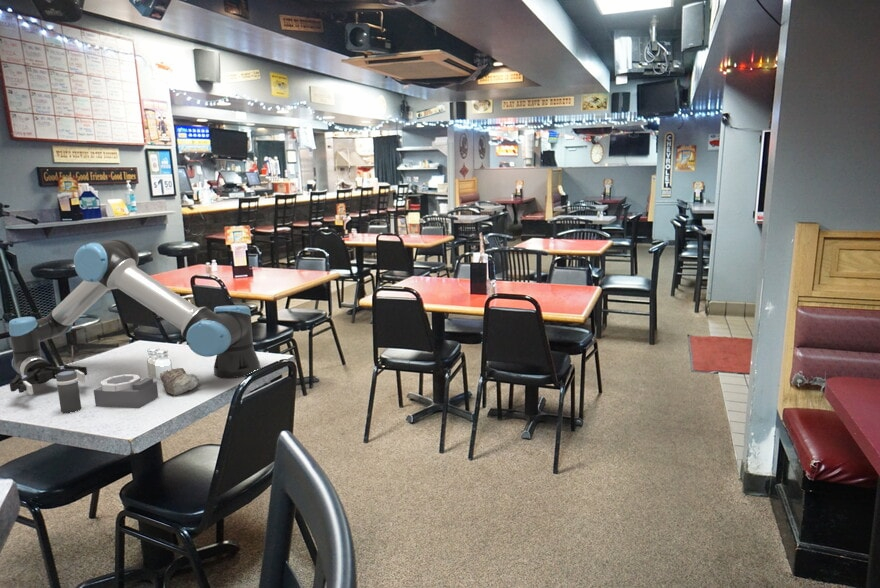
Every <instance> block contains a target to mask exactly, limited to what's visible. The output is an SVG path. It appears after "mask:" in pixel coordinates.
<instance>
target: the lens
mask: <svg viewBox="0 0 880 588" xmlns="http://www.w3.org/2000/svg"><path fill="white" fill-rule="evenodd" d="M55 383H56V386H57V393H58V398H59V399H58V400H59V406H60V412H63V413H62V414H64V413H67V414H71V413H70V412H74V413H76V412H75V411H77V412H79V411H81V410H82V409H81V408H82V402H81V395H80V390H79V389H80V386H79V380H78V377H77V372H76V371H64V372H61V373H58V374H57V375H56V379H55ZM80 409H81V410H80ZM78 410H79V411H78Z"/></svg>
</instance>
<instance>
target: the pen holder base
mask: <svg viewBox="0 0 880 588" xmlns="http://www.w3.org/2000/svg"><path fill="white" fill-rule="evenodd" d="M158 391H159V390H158V383H157V381H155V380H154V378H153V377H149V378H147V377H145V378H142V379H141V377H140V376H139V375H138V374H130V373H129V374H127V373H126V374H120V375H114V376H109V377H108V378H105V379H103V380H101V381H100V386H99V387H97V388H95V389H93V397H94V403H95V405H94V406H95V407H102V408H103V407H105V408H126V409H127V408H128V409H140V408H142V407H144V406H145V405H147V404H149V403H150V402H153V401H154V400H156V399H158V398H159V392H158Z"/></svg>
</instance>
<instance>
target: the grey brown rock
mask: <svg viewBox="0 0 880 588" xmlns="http://www.w3.org/2000/svg"><path fill="white" fill-rule="evenodd" d="M159 378H160V380H161V382H162V386H163V388H164V390H165V391H166V392H167V393H168V394H171V396H172V395H173V396H178V395H181V394H183V393H186V392H187V391H191V390H193V389H194V388H196V387H197V386H198V385H200V378H198V376H197V375H195V374H191V373H190V374H188V373H186V371H185V369H184V368H183V367H182V368H181V367H180V368H179V367H177V368H172V369H170V370H165V371H163V372H161V373H160V374H159Z"/></svg>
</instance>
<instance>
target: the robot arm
mask: <svg viewBox="0 0 880 588" xmlns="http://www.w3.org/2000/svg"><path fill="white" fill-rule="evenodd" d="M139 261H140V256H139V253H138V251H137V249H136V247H135V246H134V245H133V244H132V243H130V242H129V241H125V240H123V239H112V240H111V239H110V240H105V241H98V242H97V241H96V242H93V241H92V242H90V243H87V244H83V245H82V246H80V247H79V248H78V249H77V250H76V252H75V254H74V258H73V265H74V270H75V273H76V274H77V276H78V277H79V278H80V279H82V282H80V283H79V284H78V285H77V286H76V287H75V288H74V289H73V290H72V291H71V292H70V293H69V294H67V296H65V298H64V299H63V300H62V301H61V302H60V303H58V305H56V306H55V308H54V309H53V310H52V311H50V312H49V313H48V314H47V316H44V317H42V318H38V319H36V318H35V317H34V316H22V317H16V318H13V319H10V320H9V323H8V330H9V331H8V333H9V336H10V337H9V339H10V342H11V343H10V344H11V348H12V356H13V357H12V359H11V367H12V368H13V370H14V371H15V372H16V373H17V374H16V375H15V377H14V378H13V379H12V380H11V381H10V382H9V387H10V391H11V392H15V391H17V390H18V392H19V393H24V392H26V393H27V394H29V395H30V396H32V395H34V389H33V385H40V384H42V385H43V384H46V383H47V382H49V381H50V380H56V375H57V374H58V373H61V372H64V371H76V372H77V377H78V382H81V383H82V384H83V383H86V376H88V369H87V367H86V366H79V365H77V366H76V365H67V364H62V365H61V367H60V366H59V367H56V366H55V367H54V366H53V364H52V363H50V362H49V361H47V360H46V359H45V358H43V357H42V351H41V342H44V341H48V340H51V339H54V338H56V337H60V336H63V335H65V334H66V333H69V332H70V331H72V329H73V326H74V323H75V322H76V321H77V320H78V319H79V318H80V317H81V316H82V315H84V314H85V312H86V311H88V310H89V309H90V308H91V307H92V306H93V305H94V304H95V303H96V302H97V301H98V300H99V299H100V298H101V297H102V296H103V295H104V294H106V293H107V292H108V291H109V290H120V291H121V292H123V293H124V294H126V295H127V296H129V297H131V298H132V299H134V300H135V301H136V302H138V303H139V304H141V305H142V306H144V307H146V308H147V309H149V311H152V312H153V313H154V314H155V315H158V316H159V317H161V318H162V319H164V320H165V321H167V322H168V323H170V324H171V325H173V326H175V327H176V328H177V329H179V330H180V333H181V337H182V338H184V339H185V340H186V342H187V344H188V345H187V346H188V347H189V349H190V350H191V351H192V352H193V353H195V355H198V356H201V357H205V358H206V357H207V358H211V357H215V356H216V357H215V359H214V365H213V373H214V375H215V376H216V377H219V378H224V379H226V378H228V379H229V378H230V379H231V378H232V377H233V378H241V377H245V376H244V375H247V374H249V373H251V372H253V371H254V370H257V369H259V368H260V369H261V363H260V359H259V357H258V355H257V352H256V350H255V349H254V342H253V341H254V339H253V327H252V313H251V309H250V307H249V306H247V305H241V304H240V305H239V304H238V305H220V306H216V307H214V308H213V311H212V310H211V309H209V308H208V307H207V306H200V307H198V306H197V305H195V304H193V303H191V302H190V301H188V300H187V299H185V298H184V297H182V296H181V295H180V294H178V293H177V292H175V291H174V290H172V289H170V288H169V287H167V286H166V285H164V284H163V283H161V282H160V281H158V280H157V279H156V278H154V277H152V276H151V275H150V274H148V273H146V272H145V271H143V270H142V269H140V268H138V264H139ZM247 376H248V375H247Z"/></svg>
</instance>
